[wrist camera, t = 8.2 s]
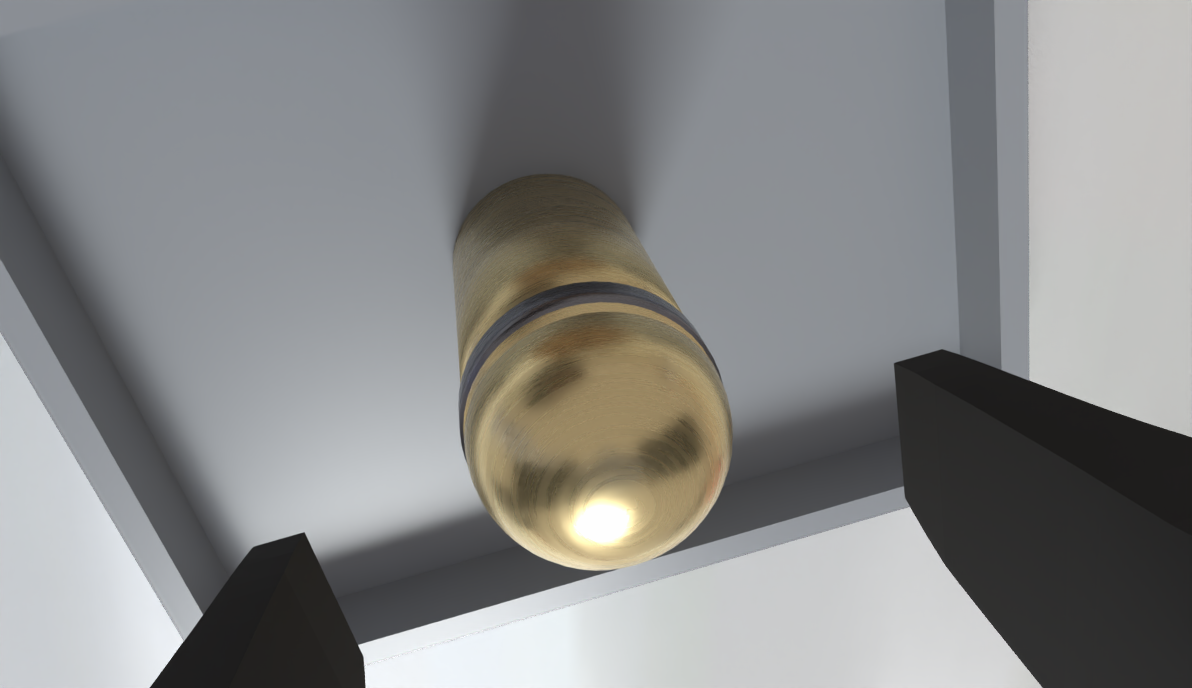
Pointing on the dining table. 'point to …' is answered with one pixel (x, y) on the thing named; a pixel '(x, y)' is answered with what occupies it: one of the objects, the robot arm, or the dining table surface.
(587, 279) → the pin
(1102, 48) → the dining table surface
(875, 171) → the tray
